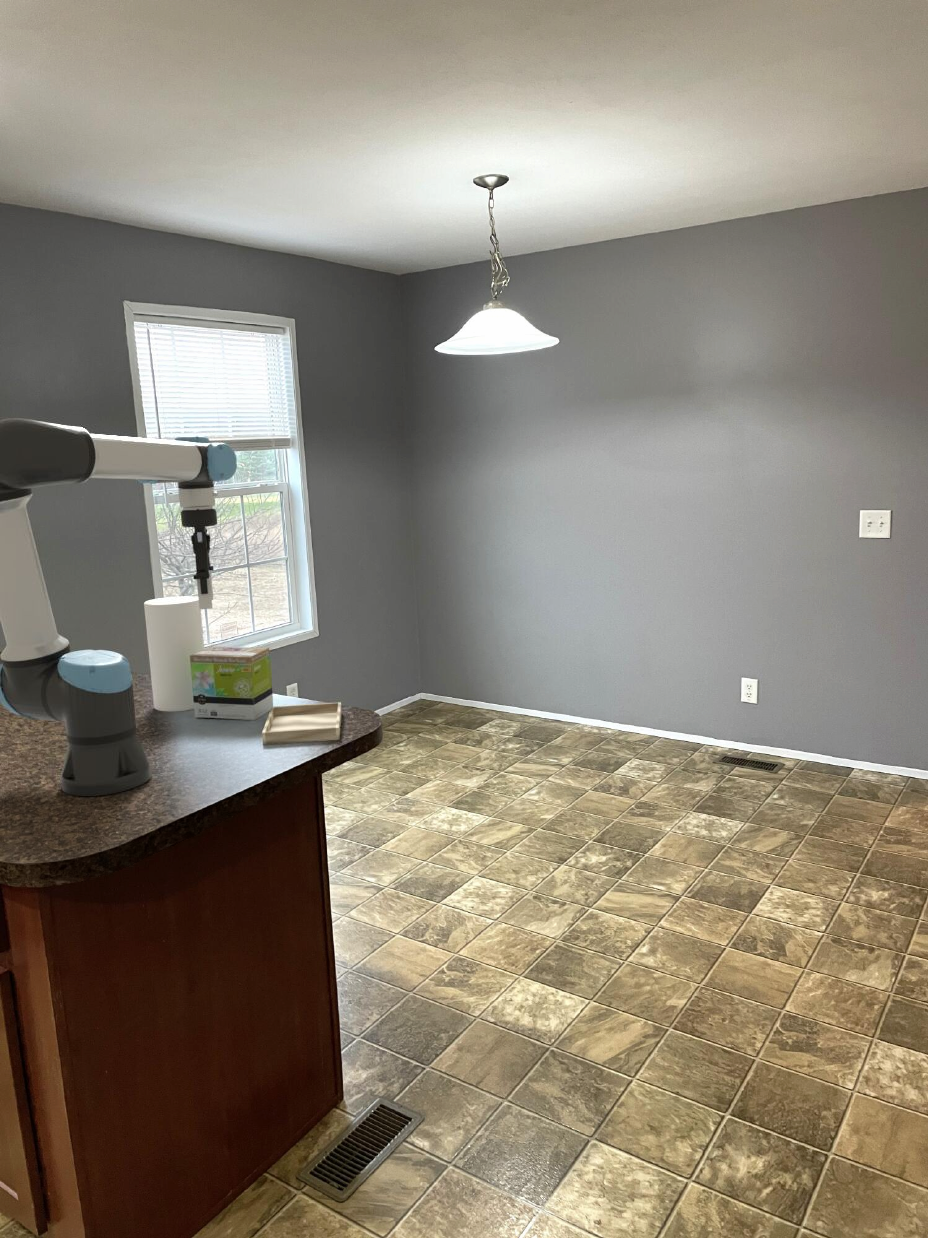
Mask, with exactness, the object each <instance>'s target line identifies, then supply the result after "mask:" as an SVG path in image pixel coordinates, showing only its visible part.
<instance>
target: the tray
mask: <svg viewBox="0 0 928 1238" xmlns="http://www.w3.org/2000/svg"><path fill="white" fill-rule="evenodd" d="M268 713H269V714H268V715H267V718H266V721H265V724H264V727H263V729H262V732H261V736H262V739H261V740H262V745H264V746H266V745H267V746H268V745H280V744H293V743H308V742H309V743H310V742H312V743H313V742H325V741H339V740H340V738H341V737H340V736H341V728H342V727H341V725H342V716H343V715H342V714H343V712H342V702H341V701H340V702H338V701H337V702H327V703H326V702H325V703H324V702H323V703H310V704H309V703H308V704H294V705H280V706H279V705H278V706H277V705H276V706H273V707H271V710H270V711H269V712H268ZM340 727H341V728H340Z"/></svg>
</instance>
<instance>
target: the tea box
mask: <svg viewBox="0 0 928 1238" xmlns="http://www.w3.org/2000/svg"><path fill="white" fill-rule="evenodd" d="M270 654H271V653H270V648H269V647H245V646H244V647H243V646H218V645H217V646H213V645H211V646H209V647H206V648H204V650H202V651H200V652H198V653H195V654H193V655H190V665H191V677H192V690H193V701H194V709H193V710H194V716H195V717H194V718H196V719H197V718H199V719H200V718H201V719H202V718H207V719H210V718H211V719H224V720H225V719H226V720H227V719H228V720H239V721H240V720H242V721H253V722H255V721H256V720H258V719H259V718H261V717H262V716H264V715H265V714H268V713H270V710H271V707H274V696H273V682H272V680H273V679H272V667H271V666H272V665H271V655H270Z"/></svg>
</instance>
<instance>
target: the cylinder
mask: <svg viewBox="0 0 928 1238" xmlns="http://www.w3.org/2000/svg"><path fill="white" fill-rule="evenodd" d="M143 607H144V609H143V610H144V616H145V619H144V620H145V626H146V627H145V628H146V637H147V649H148V658H149V669H150V678H151V689H152V700H153V708H154V709H155V710H157V711H160V712H183V711H190V710H194V701H193V690H192V677H191V665H190V655H193V654H195V653H198V652H200V651H202V650H204V649H205V643H204V631H203V620H202V619H203V618H202V609H199V599H198V597H197V596H189V595H188V596H184V595H183V596H168V597H161V598H159V597H158V598H153V599H149V600H146V601H145V602H144V603H143Z"/></svg>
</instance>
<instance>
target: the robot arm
mask: <svg viewBox="0 0 928 1238" xmlns="http://www.w3.org/2000/svg"><path fill="white" fill-rule="evenodd" d="M237 464H238V463H237V455H236V453H235V450H234V449H233V448H232V447H231V446H230V445H229V444H228V443H224V442H210V439H209V438H208V437H207V436H205V435H204V436H203V435H195V436H194V435H193V436H192V435H191V436H187V435H186V436H176V437H175V438H174V440H170V439H169V440H167V439H156V438H145V437H144V438H142V437H132V436H118V435H110V434H109V435H106V434H95V433H90V432H89V431H88V430H87V429H85V428H83V427H81V426H74V425H72V426H71V425H66V424H58V423H52V422H48V421H47V422H46V421H40V420H34V419H30V418H29V419H28V418H20V417H18V418H17V417H16V418H15V417H13V418H12V417H10V418H3V419H0V625H1V628H2V629H1V630H2V632H3V636H4V639H5V644H6V646H5V647H4V649H3V651H1V653H0V660H1V664H0V703H1V705H2V706H3V707H4V708H5V709H6V710H8V711H9V712H10V713H12V714H14V715H17V716H22V717H23V718H27V719H29V720H45V721H52V722H58V723H65V724H64V725H65V732H66V740H67V741H66V742H67V747H66V752H65V755H64V756H65V757H64V760H63V766H62V770H61V774H60V782H61V783H60V785H61V790H62V791H63V792H64V793H65V794H67V795H71V796H77V797H96V796H105V795H111V794H117V793H121V792H125V791H129V790H131V789H135V788H137V787H139V786H141V785H144V784H145V783H147V782H148V781H149V780H150V779H151V778H152V770H151V769H152V768H151V762H150V761H149V759H148V756H147V754H146V752H145V749H144V748H143V746H142V743H141V742H140V739H139V737H138V732H137V731H138V730H137V722H136V721H137V720H136V711H135V698H134V697H135V696H134V685H133V676H132V675H133V674H132V673H131V668H130V663H129V660H128V658H127V657H125V656H124V655H123V654H121V653H120V652H119V653H118V652H116V651H111V650H105V649H97V650H94V649H84V650H83V649H82V650H76V651H72V649H71V645H70V641H69V639H68V638H65V637H64V636H62V635H61V634H59V633H58V630H57V626H56V622H55V617H54V613H53V611H52V605H51V601H50V598H49V594H48V591H47V585H46V581H45V578H44V573H43V570H42V565H41V562H40V558H39V553H38V550H37V545H36V541H35V539H34V534H33V529H32V526H31V521H30V518H29V514H28V509H27V505H28V503H29V501H30V500H31V498H32V496H33V495H34V494H33V491H32V489H33V488H40V487H46V486H54V485H61V484H83V483H85V482H87V481H88V480H89V479H115V480H117V479H119V480H121V479H123V480H125V479H126V480H136V481H137V482H139V483H140V484H151V485H152V484H153V485H155V484H167V483H177V490H178V502H179V507H180V508H182V509H181V510H180V520H181V521H180V522H181V526H182V527H183V528H193V529H194V532H192V533H193V534H191V536H190V539H191V544H192V551H193V554H194V557H195V574H193V575H192V577H193V580H196V584H197V585H196V587H197V596H198V599H199V609H201V610H210V609H213V601H214V591H213V580H212V571H213V572H214V565H212V564H211V562H210V552H211V534H210V533H208V529H207V527H213V526H214V527H215V526H217V525H218V516H217V509H216V508H214V507H215V506H216V498H215V497H218V492H217V491H215V485H214V483H215V482H216V483H217V482H218V483H219V482H221V481H228V480H230V479H231V478H232V477H234V475H235V473H236V472H237V467H238V465H237Z"/></svg>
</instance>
